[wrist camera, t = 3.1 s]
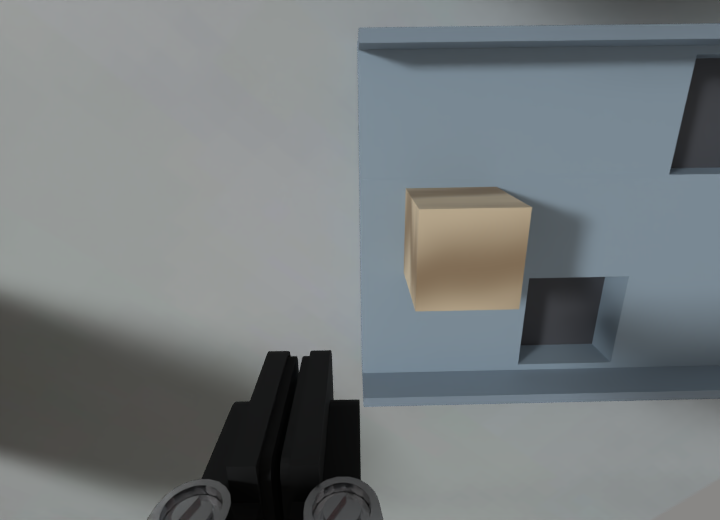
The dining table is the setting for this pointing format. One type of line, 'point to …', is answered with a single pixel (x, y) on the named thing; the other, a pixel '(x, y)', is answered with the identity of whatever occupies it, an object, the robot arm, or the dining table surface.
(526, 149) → the trap board
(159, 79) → the dining table surface
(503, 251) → the oak block
